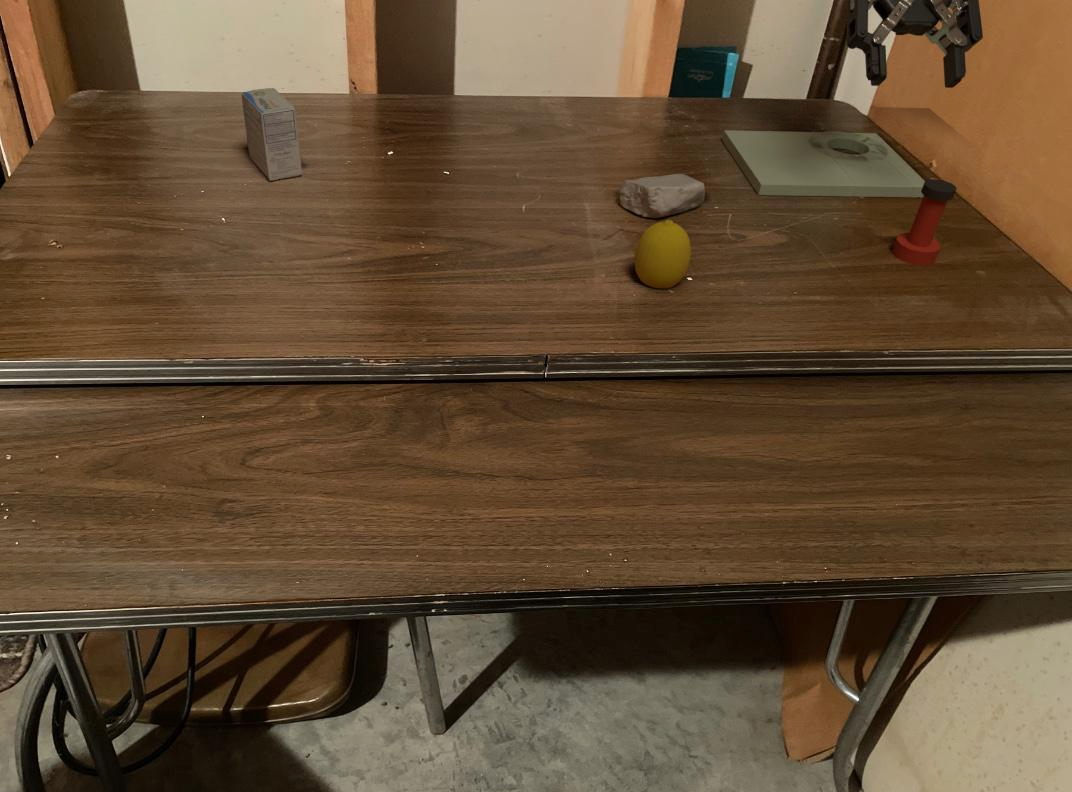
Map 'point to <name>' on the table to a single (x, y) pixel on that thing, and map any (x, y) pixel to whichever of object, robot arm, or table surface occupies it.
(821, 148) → the drain plate
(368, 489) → the table surface
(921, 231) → the stopper
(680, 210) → the grey chipped rock
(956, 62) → the robot arm
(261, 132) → the medicine box
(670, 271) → the lemon
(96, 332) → the table surface
